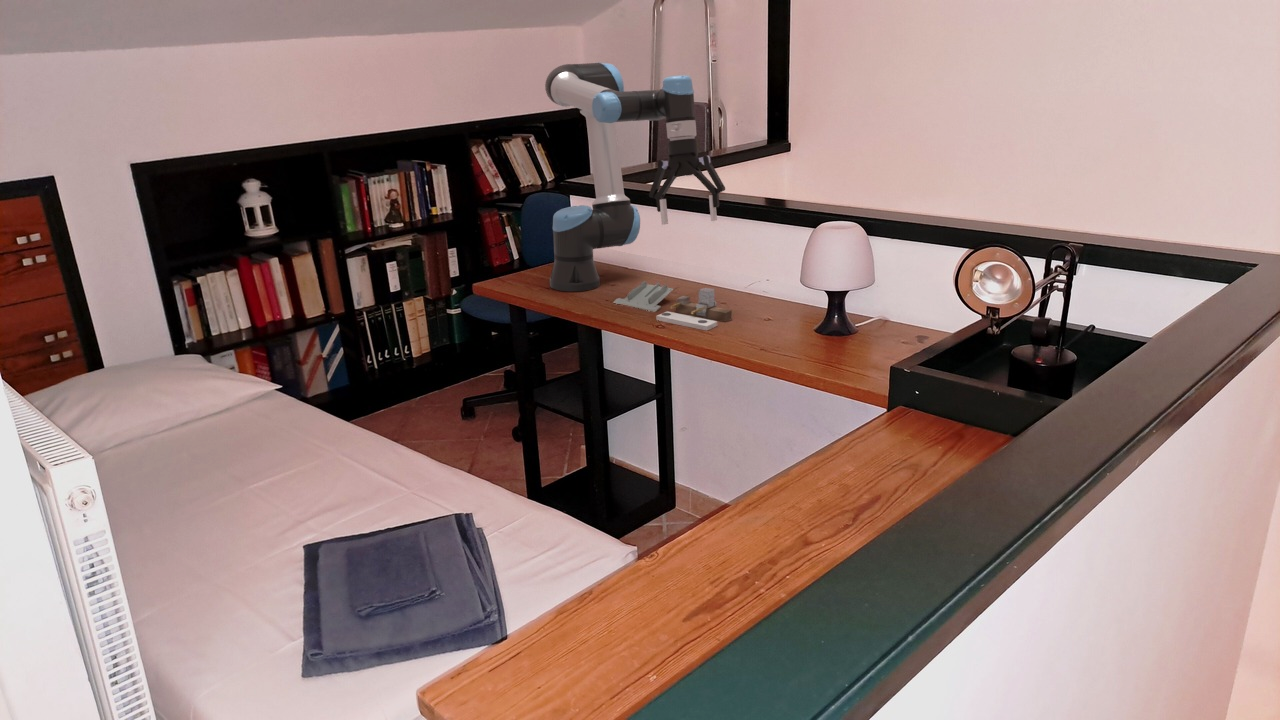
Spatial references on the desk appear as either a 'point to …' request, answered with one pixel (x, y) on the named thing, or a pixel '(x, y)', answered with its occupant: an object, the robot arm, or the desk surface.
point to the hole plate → (686, 320)
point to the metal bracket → (645, 296)
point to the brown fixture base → (712, 312)
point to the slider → (704, 301)
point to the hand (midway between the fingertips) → (689, 222)
